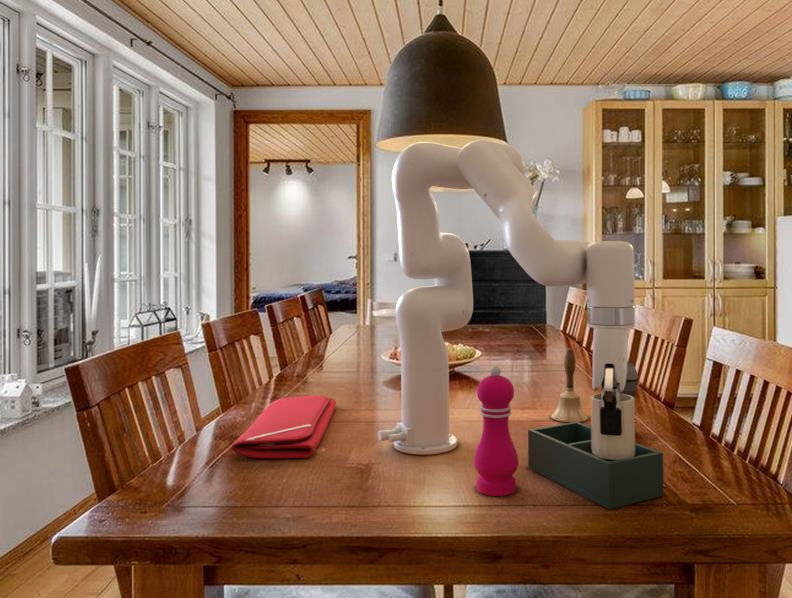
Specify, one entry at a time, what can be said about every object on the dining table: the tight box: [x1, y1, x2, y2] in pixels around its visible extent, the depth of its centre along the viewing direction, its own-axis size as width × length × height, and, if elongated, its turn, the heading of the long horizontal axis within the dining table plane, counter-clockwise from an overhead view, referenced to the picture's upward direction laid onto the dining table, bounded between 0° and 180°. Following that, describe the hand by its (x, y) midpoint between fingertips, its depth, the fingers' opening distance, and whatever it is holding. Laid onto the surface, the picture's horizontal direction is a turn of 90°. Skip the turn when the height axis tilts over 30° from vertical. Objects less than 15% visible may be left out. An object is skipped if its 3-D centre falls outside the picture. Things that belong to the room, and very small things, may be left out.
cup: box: [590, 392, 636, 460], centre depth 106 cm, size 7×7×9 cm
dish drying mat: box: [231, 395, 337, 459], centre depth 143 cm, size 16×41×4 cm, turn 5°
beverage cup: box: [622, 360, 639, 403], centre depth 139 cm, size 7×7×20 cm
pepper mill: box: [473, 365, 519, 497], centre depth 107 cm, size 7×7×20 cm
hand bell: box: [550, 348, 589, 423], centre depth 151 cm, size 8×8×16 cm
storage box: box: [527, 422, 665, 510], centre depth 111 cm, size 11×21×7 cm, turn 28°
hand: (612, 427), depth 106 cm, fingers closed on cup, 6 cm apart
